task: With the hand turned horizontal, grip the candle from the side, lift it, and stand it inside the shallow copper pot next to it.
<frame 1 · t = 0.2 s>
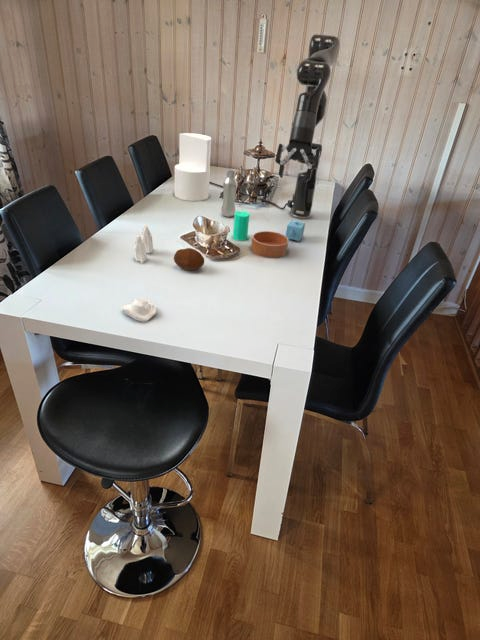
hand: (293, 179, 146), 31 cm above the table, tool tilted 20°, fingers open, 8 cm apart
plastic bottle: (227, 216, 202), on the table
candle: (239, 238, 181), on the table
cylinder: (191, 195, 222), on the table
rose: (139, 313, 127), on the table
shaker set: (144, 256, 159), on the table
pot: (268, 249, 173), on the table
potato: (189, 268, 154), on the table
teapot: (293, 239, 185), on the table
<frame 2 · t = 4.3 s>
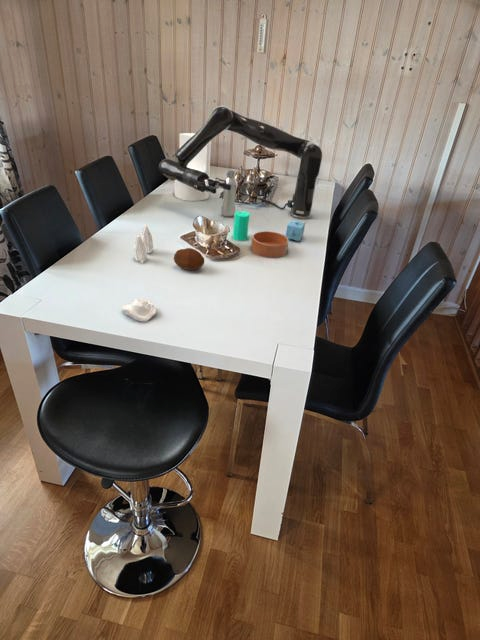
hand: (223, 189, 177), 17 cm above the table, tool horizontal, fingers open, 8 cm apart
nothing on the table moved.
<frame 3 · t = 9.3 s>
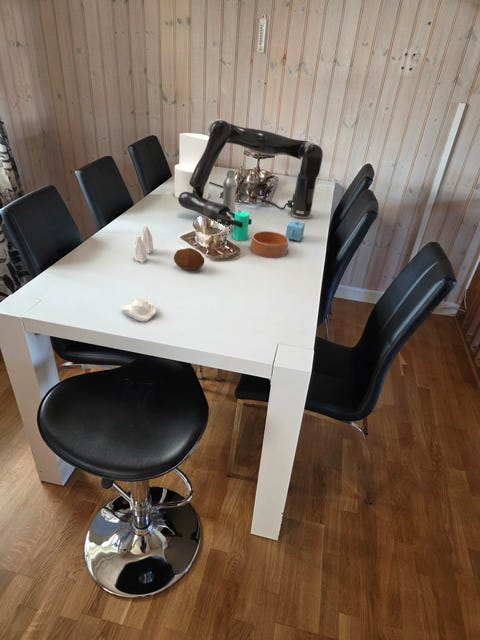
hand: (246, 223, 176), 7 cm above the table, tool horizontal, fingers closed on candle, 5 cm apart
candle: (240, 238, 181), on the table, touching gripper
everything else where it was.
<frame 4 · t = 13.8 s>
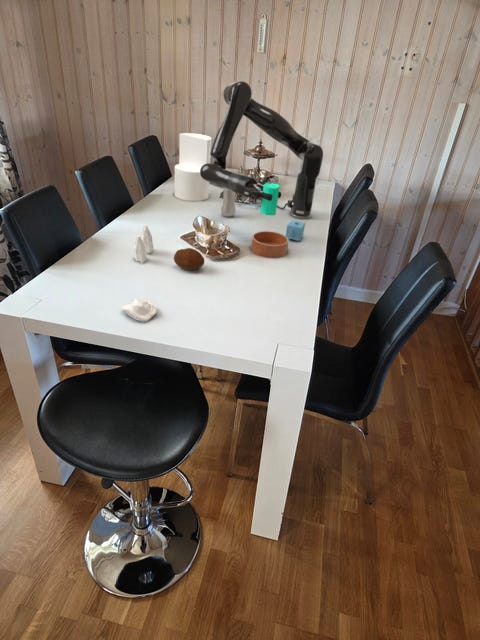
hand: (275, 196, 161), 21 cm above the table, tool horizontal, fingers closed on candle, 5 cm apart
candle: (267, 213, 167), point 14 cm above the table, touching gripper
everything else where it was.
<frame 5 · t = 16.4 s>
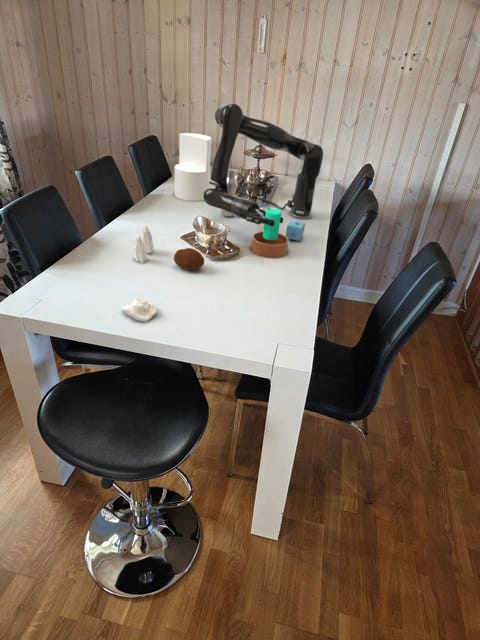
hand: (278, 222, 165), 12 cm above the table, tool horizontal, fingers closed on candle, 5 cm apart
candle: (270, 237, 170), point 5 cm above the table, touching gripper
everything else where it was.
when the fingers open (8 cm above the table, at t = 18.3 s): candle stays where it is, resting on pot.
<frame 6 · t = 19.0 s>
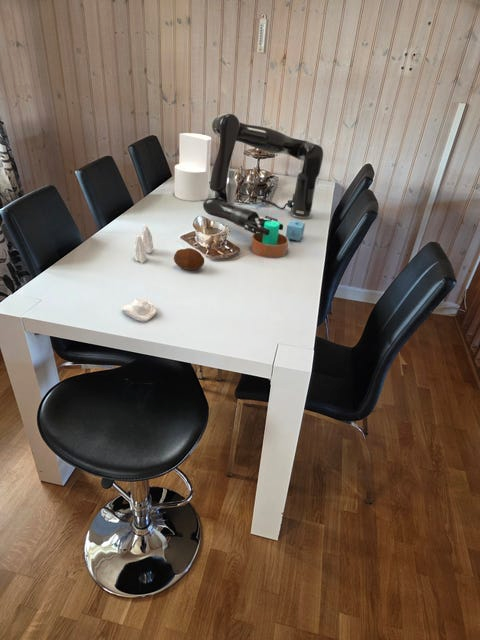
hand: (275, 230, 167), 9 cm above the table, tool horizontal, fingers open, 8 cm apart
candle: (268, 248, 173), resting on pot
everything else where it was.
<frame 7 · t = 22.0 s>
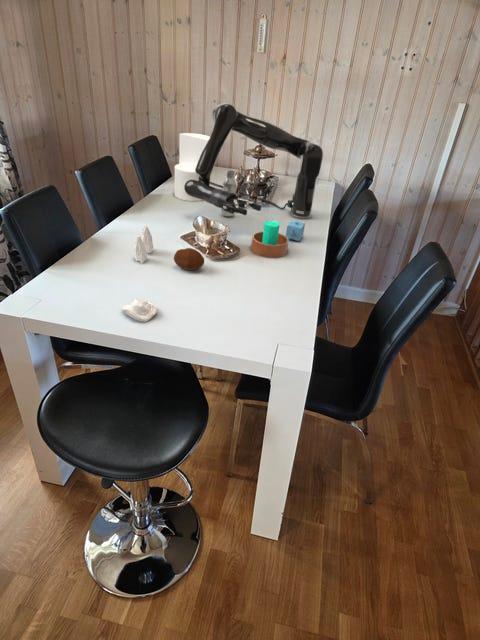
hand: (253, 210, 171), 13 cm above the table, tool horizontal, fingers open, 8 cm apart
nothing on the table moved.
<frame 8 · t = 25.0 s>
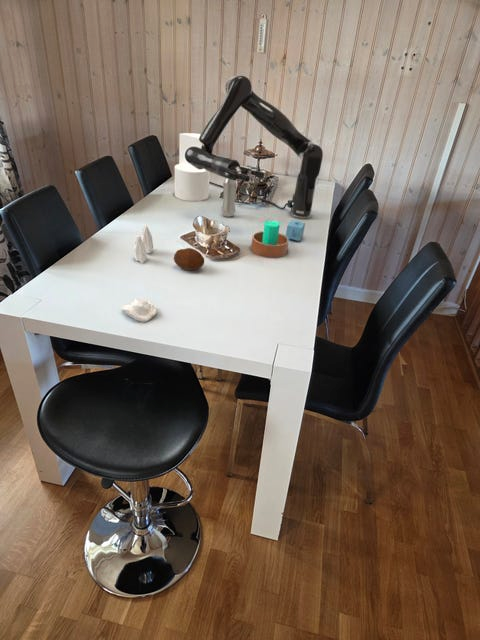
hand: (256, 177, 164), 26 cm above the table, tool horizontal, fingers open, 8 cm apart
nothing on the table moved.
at the end: candle inside the target area in the pot (0.1 cm from its centre), point 0.4 cm above the pot's base; candle tilted 0°; the gripper is holding nothing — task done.
